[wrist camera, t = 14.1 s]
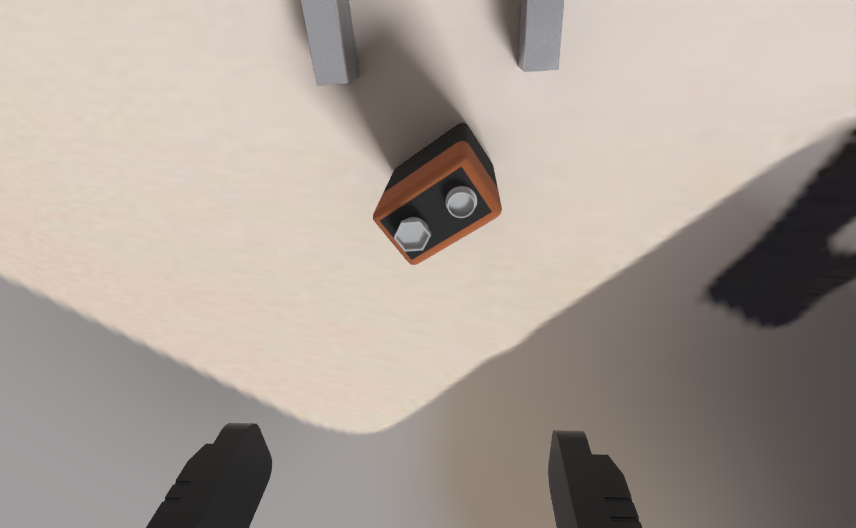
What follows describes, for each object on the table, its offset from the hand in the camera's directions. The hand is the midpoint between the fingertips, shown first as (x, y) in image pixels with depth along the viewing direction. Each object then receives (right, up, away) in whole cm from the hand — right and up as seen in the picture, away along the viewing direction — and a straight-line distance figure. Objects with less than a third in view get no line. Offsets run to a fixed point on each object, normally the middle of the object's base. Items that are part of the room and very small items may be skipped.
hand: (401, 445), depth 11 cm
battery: (+2, +12, +21) cm, 24 cm away
